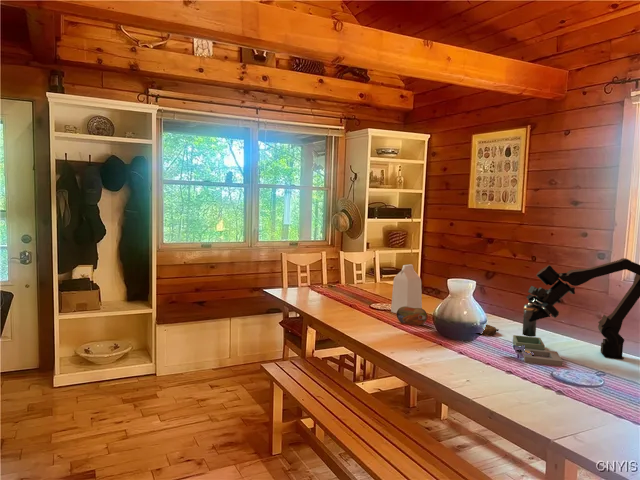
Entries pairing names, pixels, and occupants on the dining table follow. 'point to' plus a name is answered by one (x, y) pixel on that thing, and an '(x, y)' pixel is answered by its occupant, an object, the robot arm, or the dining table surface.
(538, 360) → the tester cradle
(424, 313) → the tin
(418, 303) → the milk
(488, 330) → the decorative rock
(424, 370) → the dining table surface
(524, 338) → the cup
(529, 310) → the battery cell
